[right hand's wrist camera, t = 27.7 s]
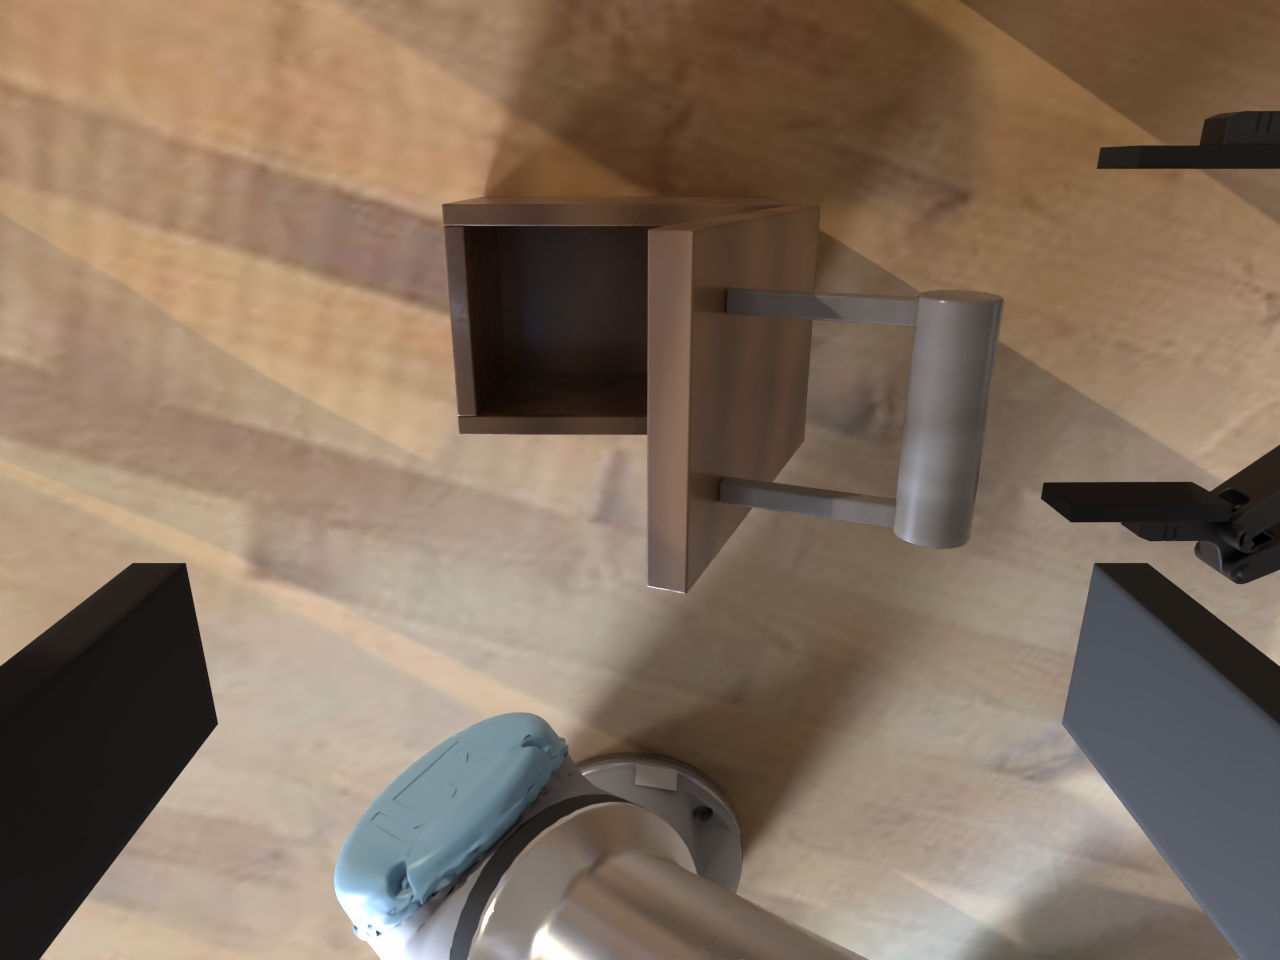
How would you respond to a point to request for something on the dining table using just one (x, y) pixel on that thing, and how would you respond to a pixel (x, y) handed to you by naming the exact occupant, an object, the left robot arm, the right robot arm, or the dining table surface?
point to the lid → (791, 390)
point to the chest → (558, 308)
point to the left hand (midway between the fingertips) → (1083, 341)
